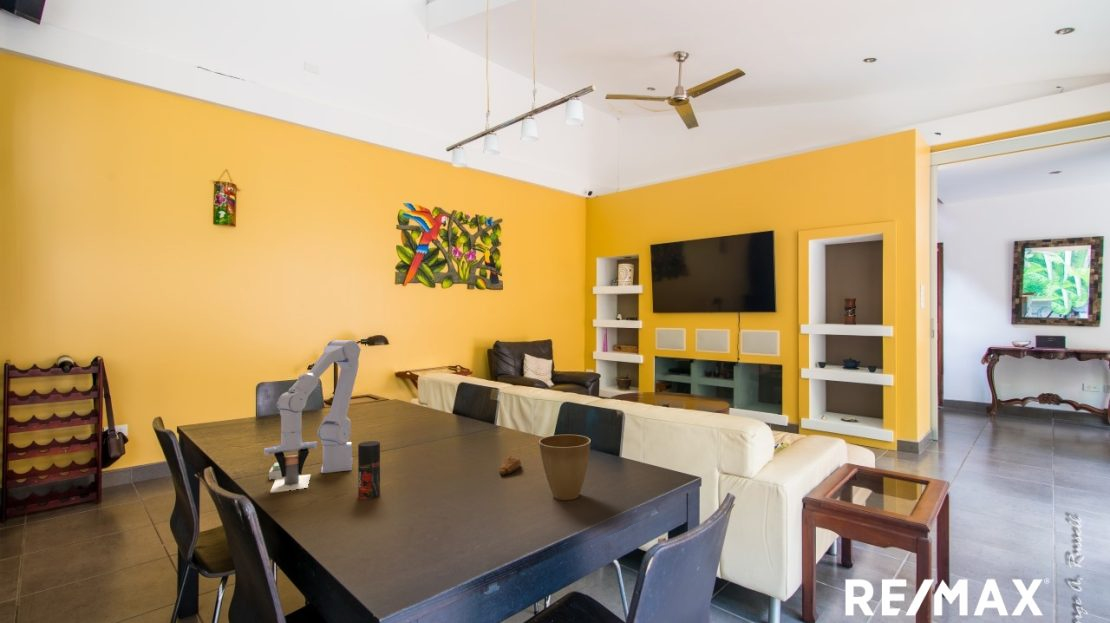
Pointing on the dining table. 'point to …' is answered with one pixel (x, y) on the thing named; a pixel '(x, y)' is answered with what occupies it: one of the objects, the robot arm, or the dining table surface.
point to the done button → (276, 467)
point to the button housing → (274, 474)
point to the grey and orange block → (291, 470)
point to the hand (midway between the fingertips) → (291, 474)
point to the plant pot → (565, 463)
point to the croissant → (509, 465)
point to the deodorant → (368, 469)
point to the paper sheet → (280, 485)
